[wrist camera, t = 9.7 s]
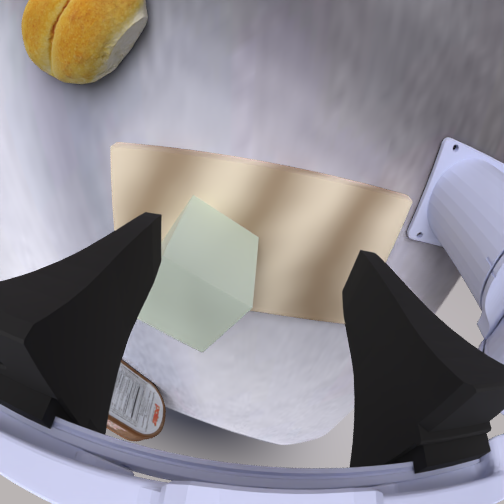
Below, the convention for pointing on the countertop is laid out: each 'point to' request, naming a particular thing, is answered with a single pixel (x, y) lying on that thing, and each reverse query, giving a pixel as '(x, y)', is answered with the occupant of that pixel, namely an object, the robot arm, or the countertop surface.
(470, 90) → the countertop surface
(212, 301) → the pale green block
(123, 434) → the tin
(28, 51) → the bread roll
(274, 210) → the board
